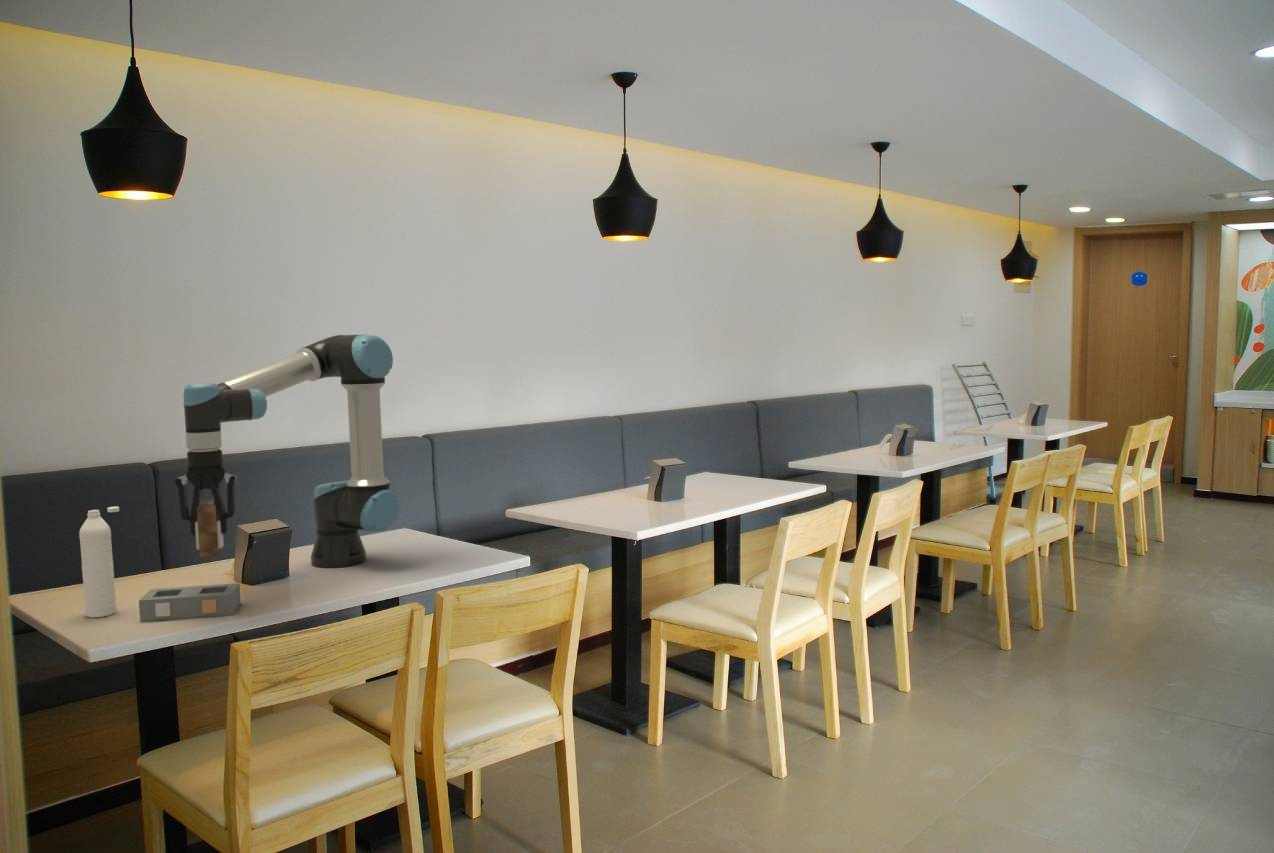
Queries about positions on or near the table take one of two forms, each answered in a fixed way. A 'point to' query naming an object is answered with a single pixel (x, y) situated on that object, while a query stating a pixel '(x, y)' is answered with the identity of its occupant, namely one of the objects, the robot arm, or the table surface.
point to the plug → (208, 528)
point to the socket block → (189, 602)
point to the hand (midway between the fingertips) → (210, 547)
